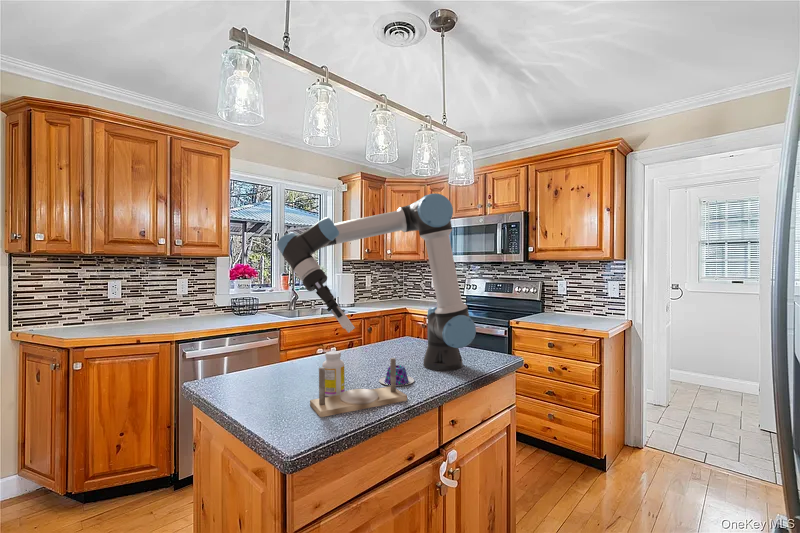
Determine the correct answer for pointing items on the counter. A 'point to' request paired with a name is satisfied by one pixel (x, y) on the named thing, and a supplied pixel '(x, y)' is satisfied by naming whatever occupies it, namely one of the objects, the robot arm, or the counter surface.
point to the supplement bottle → (334, 374)
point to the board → (356, 396)
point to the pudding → (397, 376)
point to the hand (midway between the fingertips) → (349, 328)
